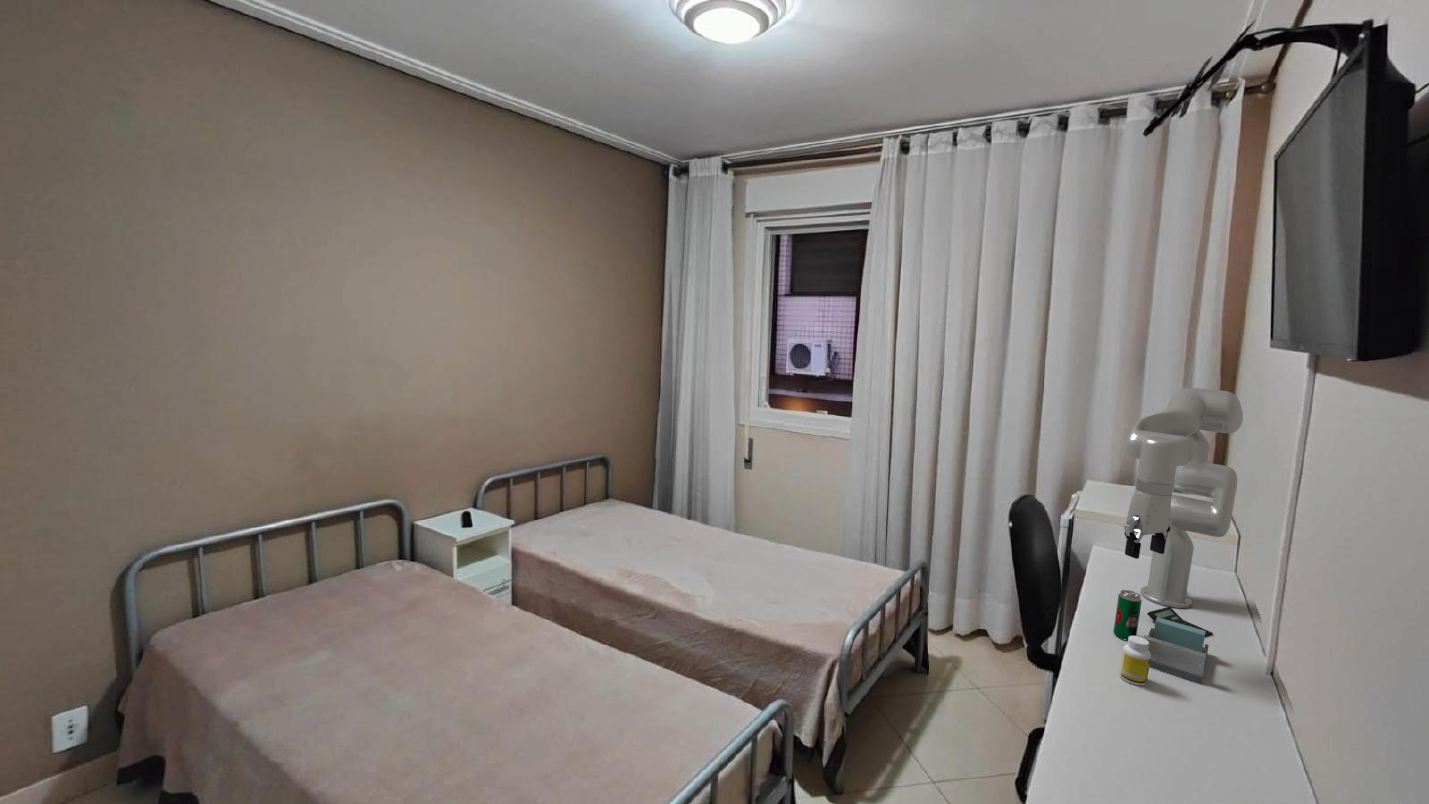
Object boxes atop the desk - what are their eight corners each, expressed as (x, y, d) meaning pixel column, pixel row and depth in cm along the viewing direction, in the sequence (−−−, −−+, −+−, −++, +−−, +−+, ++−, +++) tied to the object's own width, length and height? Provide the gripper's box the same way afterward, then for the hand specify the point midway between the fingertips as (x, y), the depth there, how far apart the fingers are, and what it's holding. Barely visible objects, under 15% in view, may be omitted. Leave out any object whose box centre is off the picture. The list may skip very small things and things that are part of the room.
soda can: (1127, 643, 164) (1133, 599, 162) (1108, 633, 168) (1114, 590, 166) (1140, 639, 166) (1146, 596, 164) (1121, 630, 170) (1127, 588, 168)
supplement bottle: (1150, 688, 144) (1156, 648, 142) (1123, 683, 145) (1128, 643, 144) (1142, 675, 149) (1148, 636, 147) (1115, 670, 151) (1121, 632, 149)
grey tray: (1150, 636, 167) (1153, 613, 166) (1207, 654, 160) (1211, 629, 159) (1139, 663, 154) (1142, 638, 153) (1200, 684, 146) (1205, 658, 145)
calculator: (1191, 642, 166) (1192, 631, 166) (1145, 621, 176) (1147, 611, 176) (1212, 635, 170) (1214, 625, 169) (1166, 615, 180) (1168, 605, 180)
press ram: (1154, 635, 165) (1157, 617, 164) (1202, 649, 158) (1205, 631, 158) (1152, 639, 163) (1155, 621, 162) (1201, 654, 156) (1204, 635, 155)
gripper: (1160, 481, 163) (1150, 545, 166) (1116, 486, 156) (1106, 552, 158) (1192, 489, 156) (1181, 555, 159) (1147, 494, 149) (1137, 564, 152)
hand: (1144, 554), depth 159 cm, fingers open, 9 cm apart
